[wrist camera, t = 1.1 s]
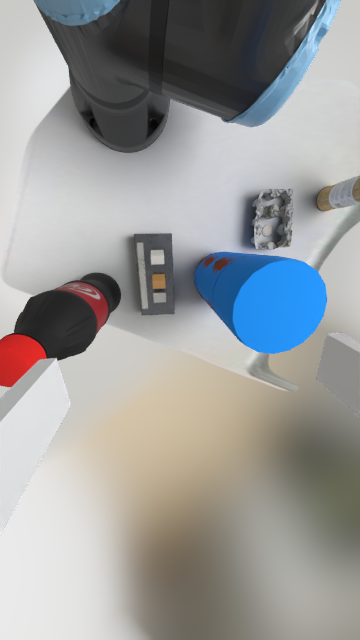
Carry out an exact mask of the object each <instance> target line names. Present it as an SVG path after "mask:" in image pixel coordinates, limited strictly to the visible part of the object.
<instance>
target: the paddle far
mask: <svg viewBox="0 0 360 640" xmlns="http://www.w3.org/2000/svg"><path fill="white" fill-rule="evenodd" d="M153 298H154V303H161V302H166V293H153Z"/></svg>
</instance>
